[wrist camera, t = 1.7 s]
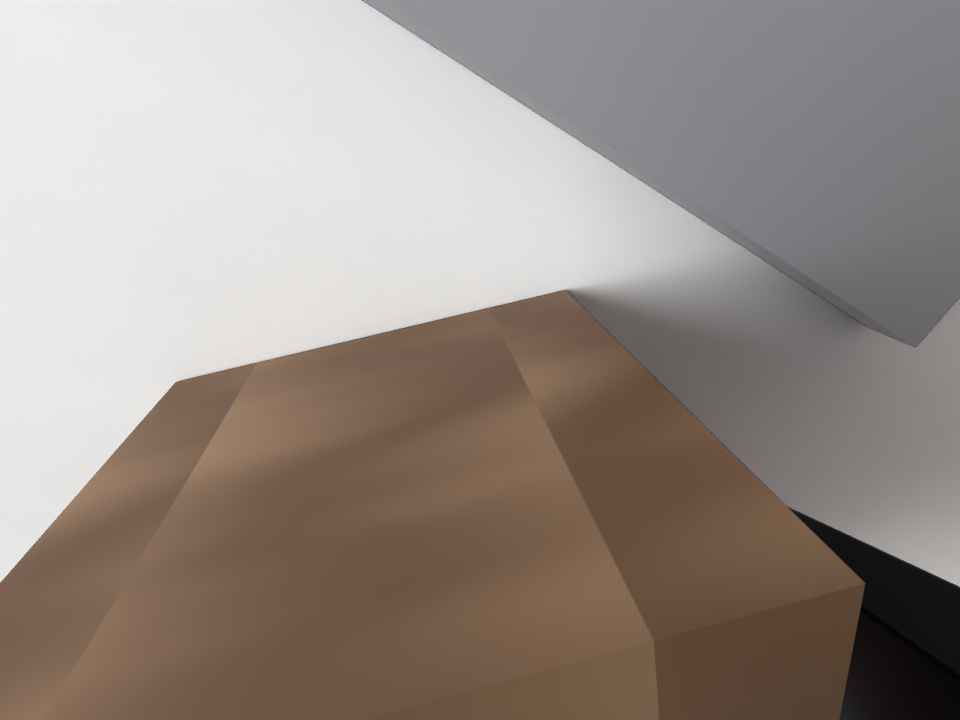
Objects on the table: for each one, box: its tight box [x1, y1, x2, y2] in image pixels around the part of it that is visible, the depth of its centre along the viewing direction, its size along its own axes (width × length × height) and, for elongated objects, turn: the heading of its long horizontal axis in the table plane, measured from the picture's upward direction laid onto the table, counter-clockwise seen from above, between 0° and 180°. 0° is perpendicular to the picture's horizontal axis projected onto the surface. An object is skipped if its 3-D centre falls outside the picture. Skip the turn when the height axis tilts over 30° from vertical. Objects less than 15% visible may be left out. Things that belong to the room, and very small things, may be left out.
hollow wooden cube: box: [0, 290, 865, 720], centre depth 7 cm, size 6×6×6 cm
